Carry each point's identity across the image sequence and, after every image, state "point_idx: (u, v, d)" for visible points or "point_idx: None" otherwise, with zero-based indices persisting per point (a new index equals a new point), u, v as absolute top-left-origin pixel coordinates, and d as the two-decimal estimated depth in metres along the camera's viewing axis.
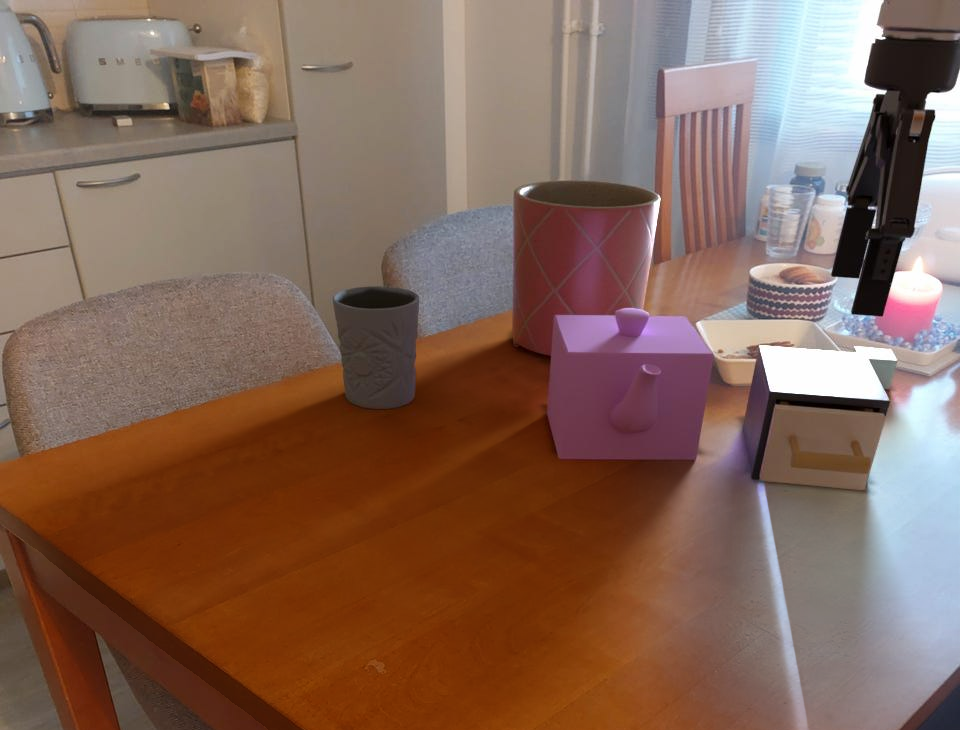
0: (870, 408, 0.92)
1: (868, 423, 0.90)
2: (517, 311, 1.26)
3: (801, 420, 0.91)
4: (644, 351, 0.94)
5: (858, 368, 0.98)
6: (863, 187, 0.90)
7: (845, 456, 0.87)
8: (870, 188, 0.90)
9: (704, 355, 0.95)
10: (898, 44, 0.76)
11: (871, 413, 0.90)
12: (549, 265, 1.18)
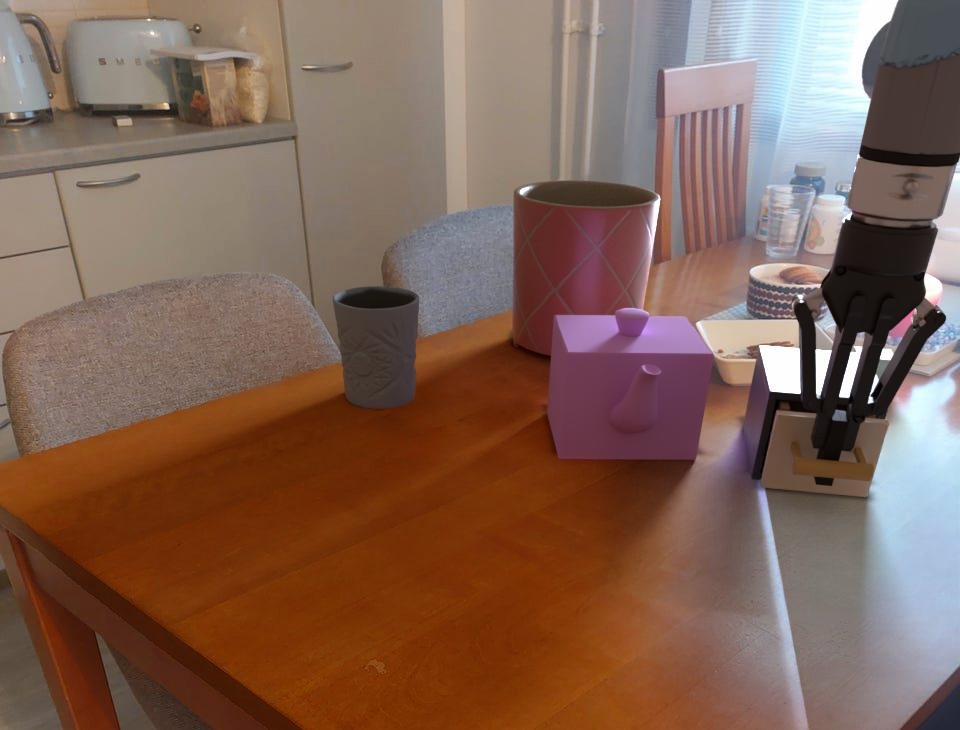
0: None
1: (871, 429, 0.89)
2: (517, 311, 1.26)
3: (802, 427, 0.90)
4: (644, 351, 0.94)
5: None
6: None
7: (848, 463, 0.86)
8: None
9: (704, 355, 0.94)
10: (931, 233, 0.74)
11: (874, 419, 0.89)
12: (549, 265, 1.18)
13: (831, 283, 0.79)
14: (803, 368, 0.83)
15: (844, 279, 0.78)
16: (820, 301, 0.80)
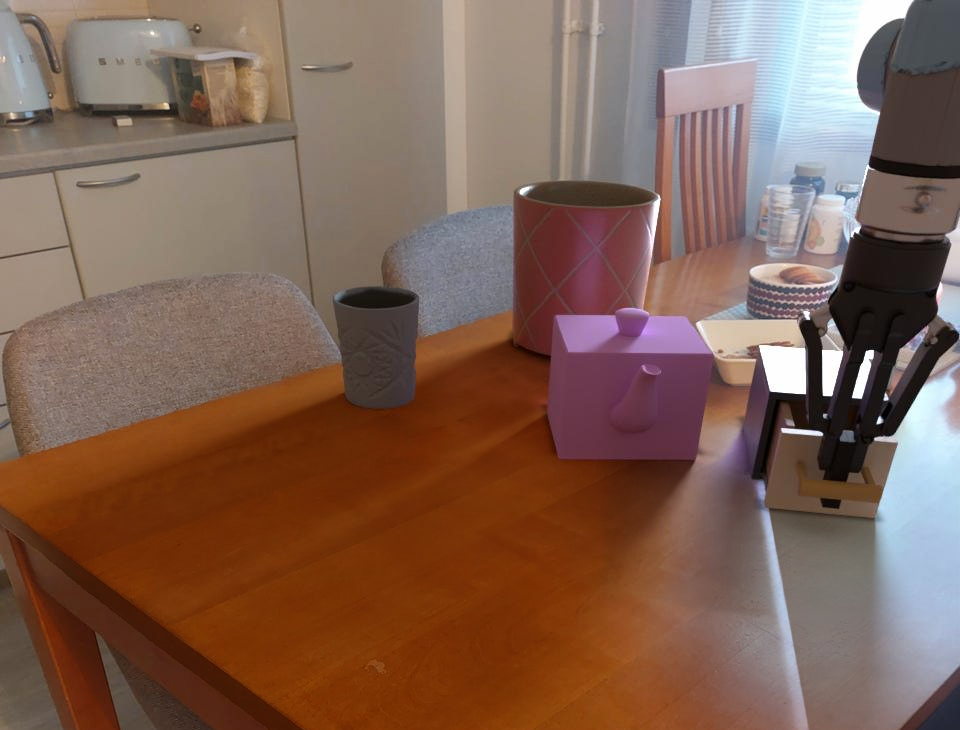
0: None
1: (879, 448, 0.85)
2: (517, 311, 1.26)
3: (808, 445, 0.86)
4: (644, 351, 0.94)
5: None
6: None
7: (855, 484, 0.82)
8: None
9: (704, 355, 0.94)
10: (945, 247, 0.71)
11: (882, 438, 0.85)
12: (549, 265, 1.18)
13: (839, 299, 0.75)
14: (809, 387, 0.79)
15: (852, 295, 0.75)
16: (828, 318, 0.76)
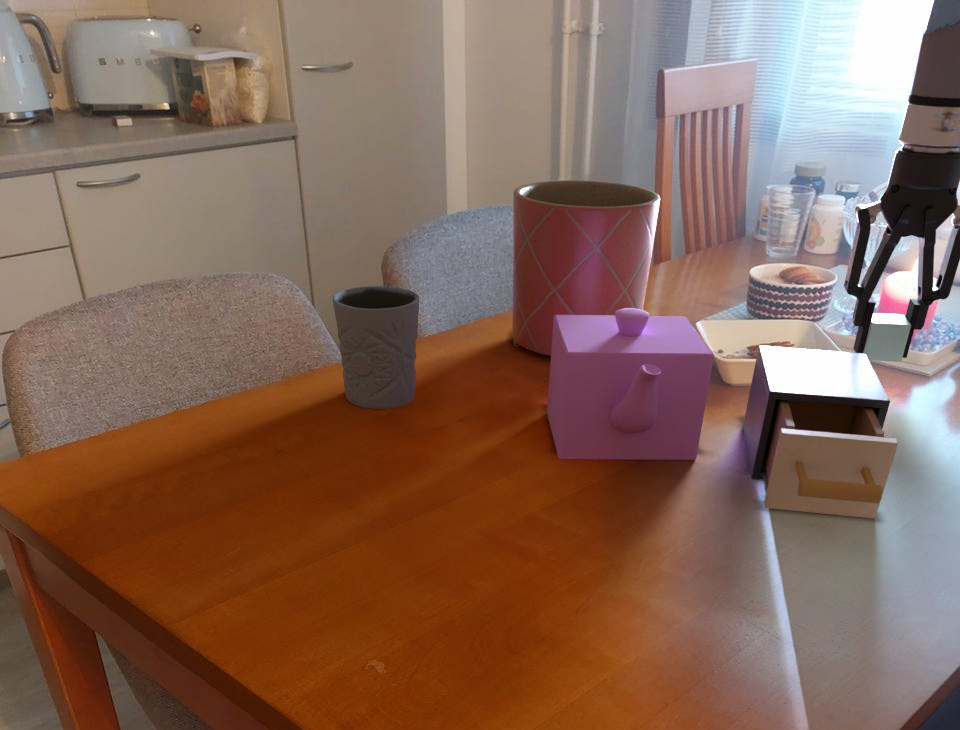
0: (881, 432, 0.87)
1: (879, 448, 0.85)
2: (517, 311, 1.26)
3: (808, 445, 0.86)
4: (644, 351, 0.94)
5: (858, 368, 0.98)
6: None
7: (855, 484, 0.82)
8: None
9: (704, 355, 0.94)
10: None
11: (882, 438, 0.85)
12: (549, 265, 1.18)
13: (889, 197, 1.07)
14: (854, 260, 1.11)
15: (897, 195, 1.07)
16: (878, 210, 1.08)
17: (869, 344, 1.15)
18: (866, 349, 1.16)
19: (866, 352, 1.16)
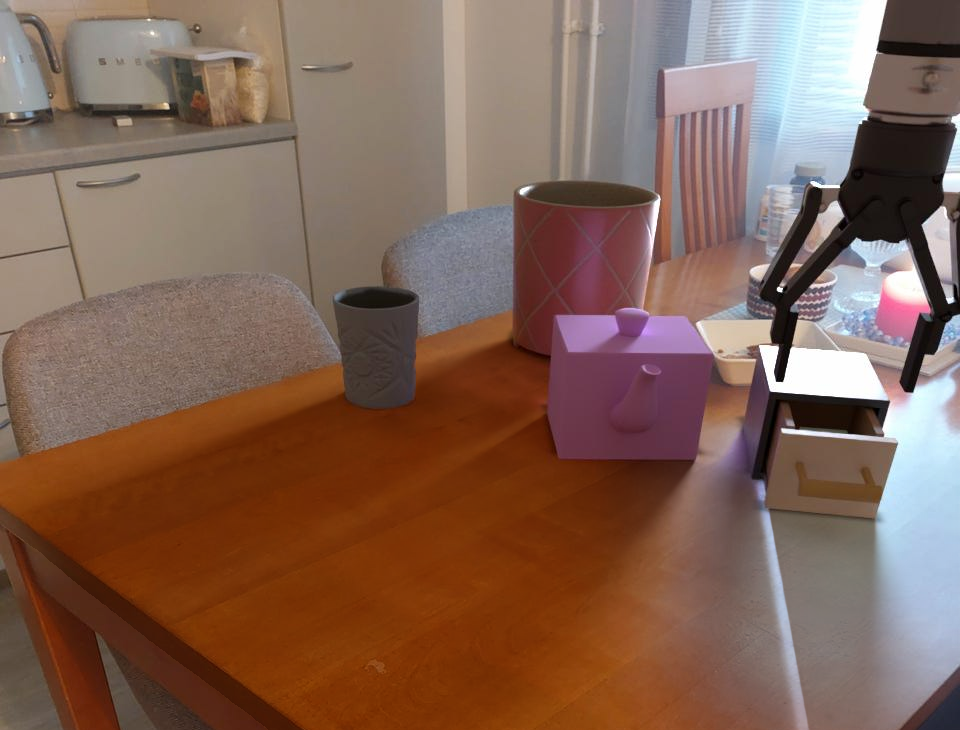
0: (881, 432, 0.87)
1: (879, 448, 0.85)
2: (517, 311, 1.26)
3: (808, 445, 0.86)
4: (644, 351, 0.94)
5: (858, 368, 0.98)
6: None
7: (855, 484, 0.82)
8: None
9: (704, 355, 0.94)
10: (951, 130, 0.73)
11: (882, 438, 0.85)
12: (549, 265, 1.18)
13: (853, 185, 0.77)
14: (782, 255, 0.81)
15: (861, 183, 0.77)
16: (833, 198, 0.78)
17: None
18: None
19: None
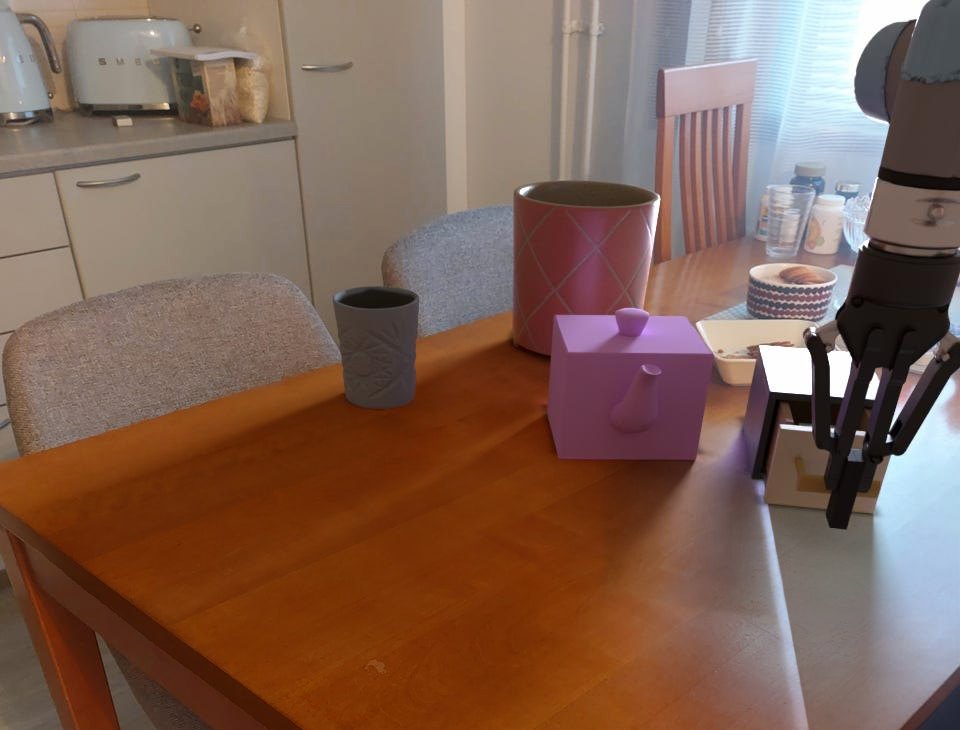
0: None
1: None
2: (517, 311, 1.26)
3: (807, 441, 0.87)
4: (644, 351, 0.94)
5: None
6: None
7: None
8: None
9: (704, 355, 0.94)
10: (958, 261, 0.68)
11: None
12: (549, 265, 1.18)
13: (847, 315, 0.72)
14: (816, 405, 0.76)
15: (861, 311, 0.72)
16: (835, 334, 0.74)
17: None
18: None
19: None
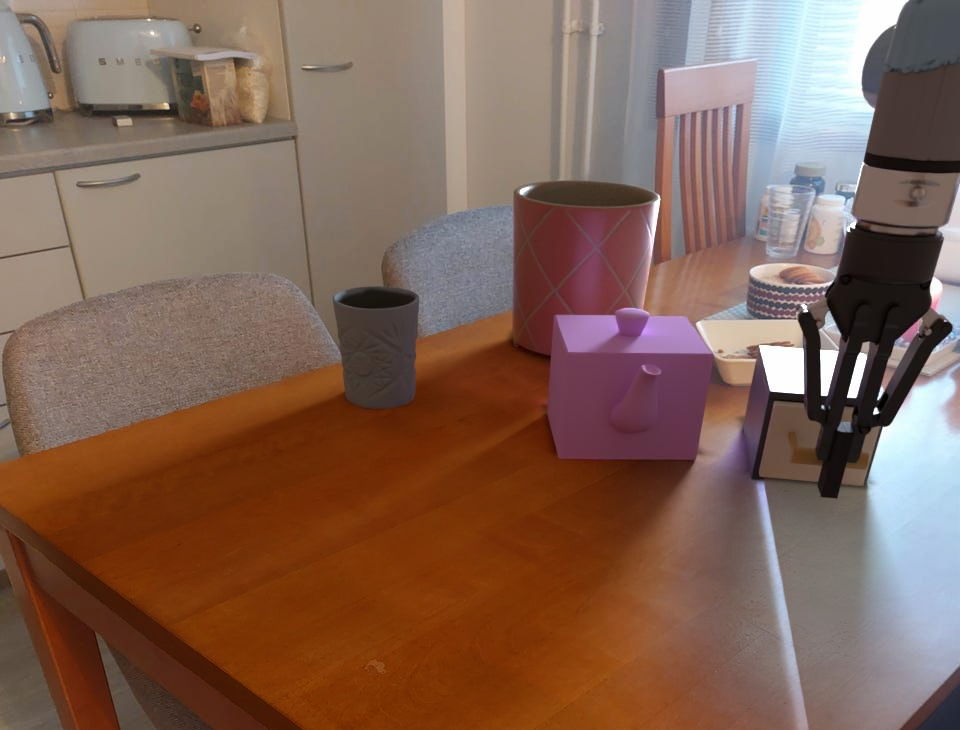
0: None
1: None
2: (517, 311, 1.26)
3: (799, 417, 0.92)
4: (644, 351, 0.94)
5: (858, 368, 0.98)
6: None
7: None
8: None
9: (704, 355, 0.94)
10: (938, 240, 0.73)
11: None
12: (549, 265, 1.18)
13: (836, 292, 0.77)
14: (808, 379, 0.81)
15: (849, 288, 0.77)
16: (825, 311, 0.79)
17: None
18: None
19: None
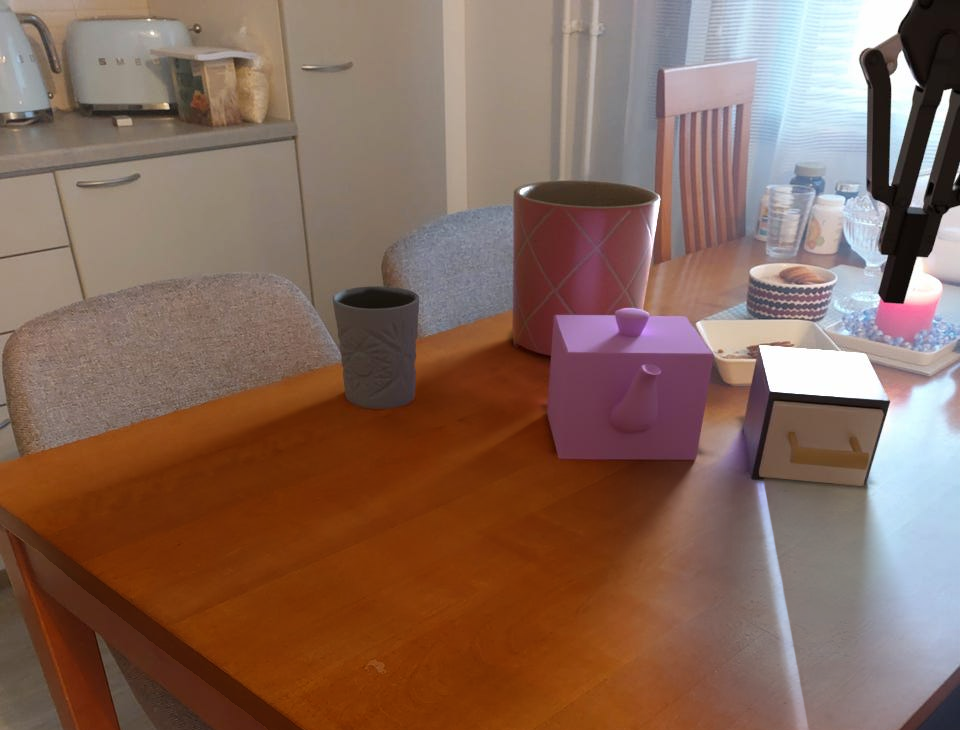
0: None
1: (866, 419, 0.91)
2: (517, 311, 1.26)
3: (799, 417, 0.92)
4: (644, 351, 0.94)
5: (858, 368, 0.98)
6: None
7: (843, 452, 0.88)
8: None
9: (704, 355, 0.94)
10: None
11: (869, 409, 0.91)
12: (549, 265, 1.18)
13: (913, 21, 0.63)
14: (873, 142, 0.67)
15: (930, 14, 0.62)
16: (898, 49, 0.64)
17: None
18: None
19: None
